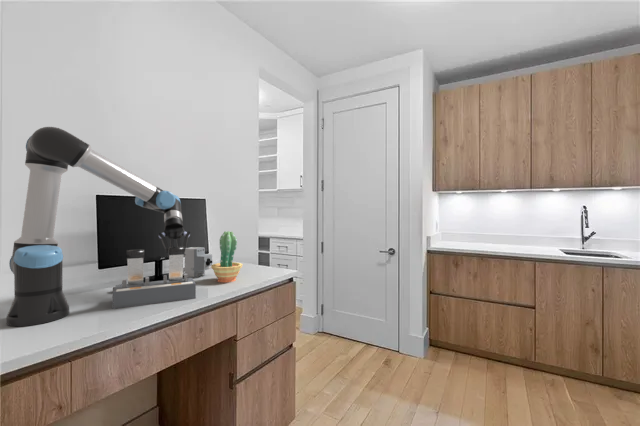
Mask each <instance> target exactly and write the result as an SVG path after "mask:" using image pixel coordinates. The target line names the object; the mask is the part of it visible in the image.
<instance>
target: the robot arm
mask: <svg viewBox="0 0 640 426" xmlns="http://www.w3.org/2000/svg"><path fill="white" fill-rule="evenodd" d="M25 149H26V154H25V155H26V156H25V160H24V161H25V162H24V165H25V166H26V167H27V168H28V169H29V177H28V183H27V191H26V199H25V204H24V206H25V207H24V212H23V218H22V219H23V220H22V227H21V234H20V237H19V238H17V239H16V240H14V241H13V249H12V255H11V256H10V258H9V262H8V263H9V269H10V271H11V272H12V273H13V276H14V279H13V280H14V281H13V282H14V283H13V285H14V289H13V290H14V291H13V292H14V298H13V300H12V303H11V306H10V308H9V309H8V313H7V315H6V325H7V326H10V327H27V326H36V325H40V324H45V323H51V322H53V321H57V320H60V319H62V318H65V317H67V316H68V315H69V314H70V305H69V303H68V301H67V299H66V297H65V294H64V291H63V285H64V284H63V260H64V254H63V249H62V248H61V247H60V246H59V245H58V244H59V243H58V241H57V240H56V239H55V237H54V234H55V226H56V220H57V212H58V204H59V196H60V190H61V183H62V175H63V174H64V173H66V172H68V168H69V167H72V168H77V167H78V168H80V169H82V170H84V171H86V172H87V173H90V174H92V175H94V176H95V177H98V178H99V179H101V180H104V181H106V182H107V183H109V184H111V185H113V186H115V187H117V188H119V189H121V190H123V191H125V192H127V193H128V194H131V195H133V196H134V197H135V198H134V202H135V203H134V204H135V205H137V206H139V207H141V208H145V209H149V210H153V211H155V212H159V213H163V222H164V230H163V232H158V239H159V240H160V241H161V243H162V246H163V249H164V250H165V253H166V254H169V247H175V242H174V241H176V247H185V250H186V248H187V244H188V240H189V238H190V237H191V232H190V231H185V229H184V223H183V214H182V213H183V212H182V202H181V198H180V197H179V196H178V195H177V194H174V193H173V192H171V191H168V190H163V189H161V188H160V187H158V186H156V185H154V184H153V183H151V182H149V181H148V180H146V179H144V178H142V177H140V176H139V175H137V174H135V173H134V172H132V171H130V170H129V169H127V168H124V167H123V166H121V165H119V164H118V163H116V162H115V161H112V160H111V159H109V158H107V157H105V156H104V155H102V154H101V153H98V152H97V151H95V150H93V149H92V147H91V145H90V144H88V143H87V142H86V141H83V139H80V138H78V137H77V136H76V135H74V134H72V133H70V132H68V131H66V130H64V129H62V128H59V127H55V126H44V127H41V128H38V129H36V130H35V131H34V132H33V133H32V134H31V136H29V138H28V139H27V140H26V143H25ZM183 236H184V238H183V239H184V240H183V244H182V243H181V238H182V237H183ZM166 238H167V239H169V244H170V245H169V244H168V242H167V239H166ZM181 244H182V245H181Z"/></svg>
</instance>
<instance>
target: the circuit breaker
mask: <svg viewBox="0 0 640 426" xmlns="http://www.w3.org/2000/svg"><path fill="white" fill-rule="evenodd" d="M205 252H206V247H200V246H197V247H196V246H191V247H186V250H185V254H184V256H183V258H184V267H183V275H184V274H186V273H187V275H188V278H199V277H202V276H204V275H205V274H206V272H205V271H207V270H211V269H212V268H211V265H213V264H214V263H213V262H214V261H213V254H207V253H205Z"/></svg>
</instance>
